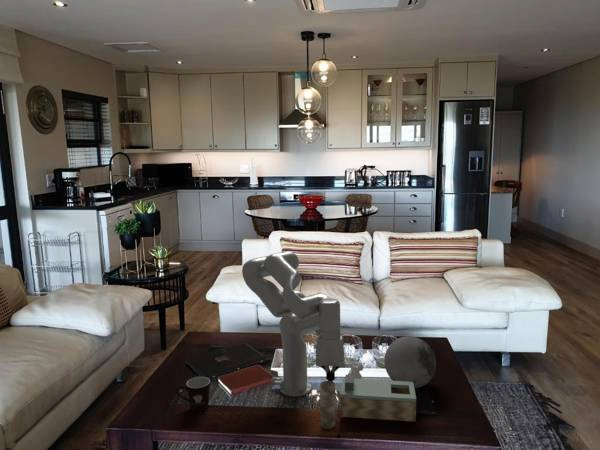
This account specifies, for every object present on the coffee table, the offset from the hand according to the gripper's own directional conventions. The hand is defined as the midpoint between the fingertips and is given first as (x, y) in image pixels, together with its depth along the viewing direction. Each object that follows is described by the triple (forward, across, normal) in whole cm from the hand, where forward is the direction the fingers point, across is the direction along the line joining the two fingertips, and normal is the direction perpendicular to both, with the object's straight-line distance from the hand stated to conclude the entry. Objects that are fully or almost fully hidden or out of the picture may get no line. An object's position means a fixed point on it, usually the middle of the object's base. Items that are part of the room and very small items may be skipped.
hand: (330, 381), depth 172 cm
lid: (+3, +17, 0) cm, 17 cm away
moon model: (+11, +30, +21) cm, 38 cm away
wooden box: (+11, +17, 0) cm, 20 cm away
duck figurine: (+11, +8, +18) cm, 23 cm away
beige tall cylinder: (+11, 0, -10) cm, 15 cm away
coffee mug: (+11, -50, -4) cm, 52 cm away
